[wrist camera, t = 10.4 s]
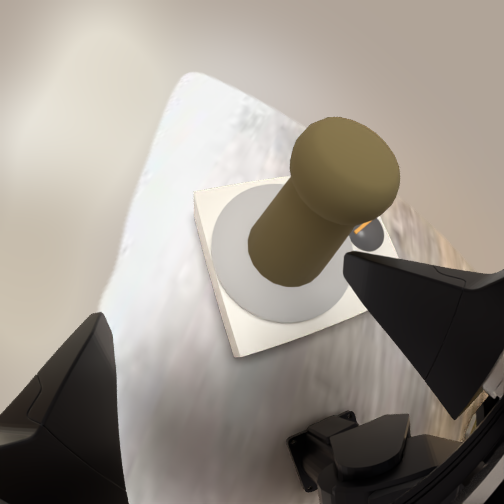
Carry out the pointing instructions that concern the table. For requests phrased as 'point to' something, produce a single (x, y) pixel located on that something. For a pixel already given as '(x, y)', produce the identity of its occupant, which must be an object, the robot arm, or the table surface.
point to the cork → (323, 200)
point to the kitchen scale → (261, 289)
